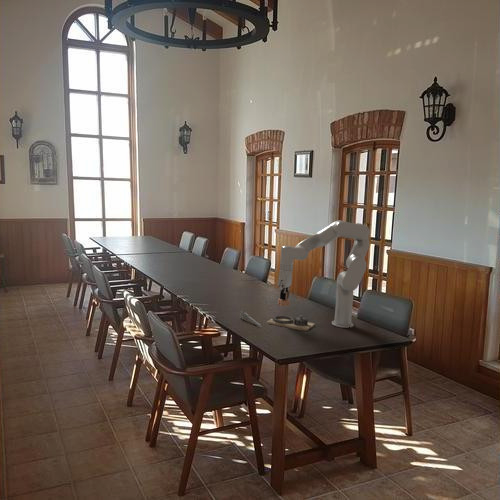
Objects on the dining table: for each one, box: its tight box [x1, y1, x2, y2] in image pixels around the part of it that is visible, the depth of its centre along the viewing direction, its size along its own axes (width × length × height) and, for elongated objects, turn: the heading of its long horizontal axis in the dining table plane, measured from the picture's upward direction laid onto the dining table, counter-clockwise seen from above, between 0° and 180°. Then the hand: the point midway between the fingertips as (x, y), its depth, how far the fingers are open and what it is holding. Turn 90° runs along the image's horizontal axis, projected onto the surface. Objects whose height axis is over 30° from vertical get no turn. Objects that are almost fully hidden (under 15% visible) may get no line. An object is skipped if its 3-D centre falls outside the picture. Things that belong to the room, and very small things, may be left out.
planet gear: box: [277, 292, 291, 307], centre depth 283 cm, size 7×7×8 cm
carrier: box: [266, 314, 316, 332], centre depth 282 cm, size 14×24×6 cm, turn 62°
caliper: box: [239, 308, 263, 329], centre depth 281 cm, size 20×1×6 cm, turn 36°
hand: (284, 298), depth 283 cm, fingers closed on planet gear, 3 cm apart
